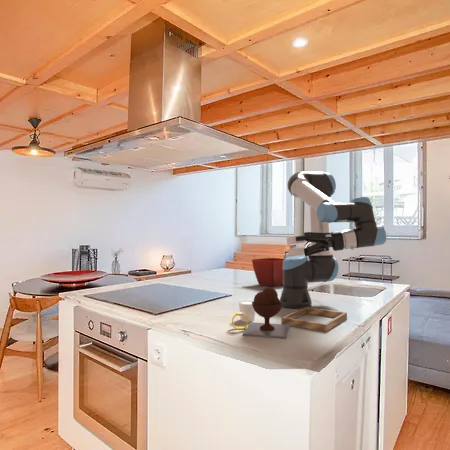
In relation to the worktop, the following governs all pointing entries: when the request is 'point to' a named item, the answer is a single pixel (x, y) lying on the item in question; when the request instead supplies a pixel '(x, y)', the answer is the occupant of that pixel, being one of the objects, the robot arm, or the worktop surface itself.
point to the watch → (240, 315)
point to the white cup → (247, 311)
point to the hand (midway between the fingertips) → (287, 247)
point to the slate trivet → (278, 332)
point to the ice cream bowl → (267, 306)
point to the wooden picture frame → (292, 321)
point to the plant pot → (269, 271)
